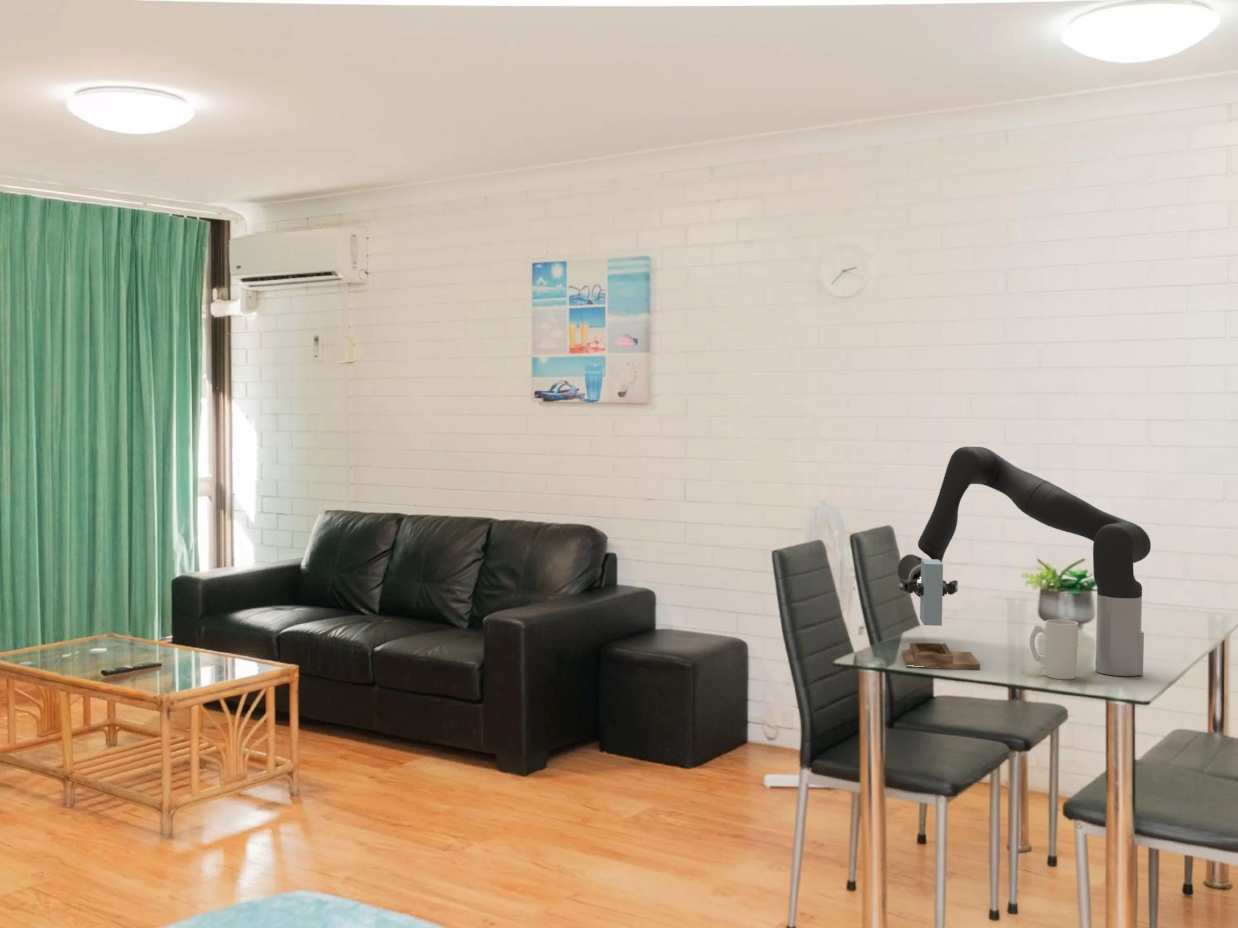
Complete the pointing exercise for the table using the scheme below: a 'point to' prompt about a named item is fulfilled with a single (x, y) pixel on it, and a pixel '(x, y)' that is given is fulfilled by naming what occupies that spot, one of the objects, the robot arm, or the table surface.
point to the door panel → (931, 592)
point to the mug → (1058, 648)
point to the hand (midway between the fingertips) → (932, 591)
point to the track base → (938, 657)
